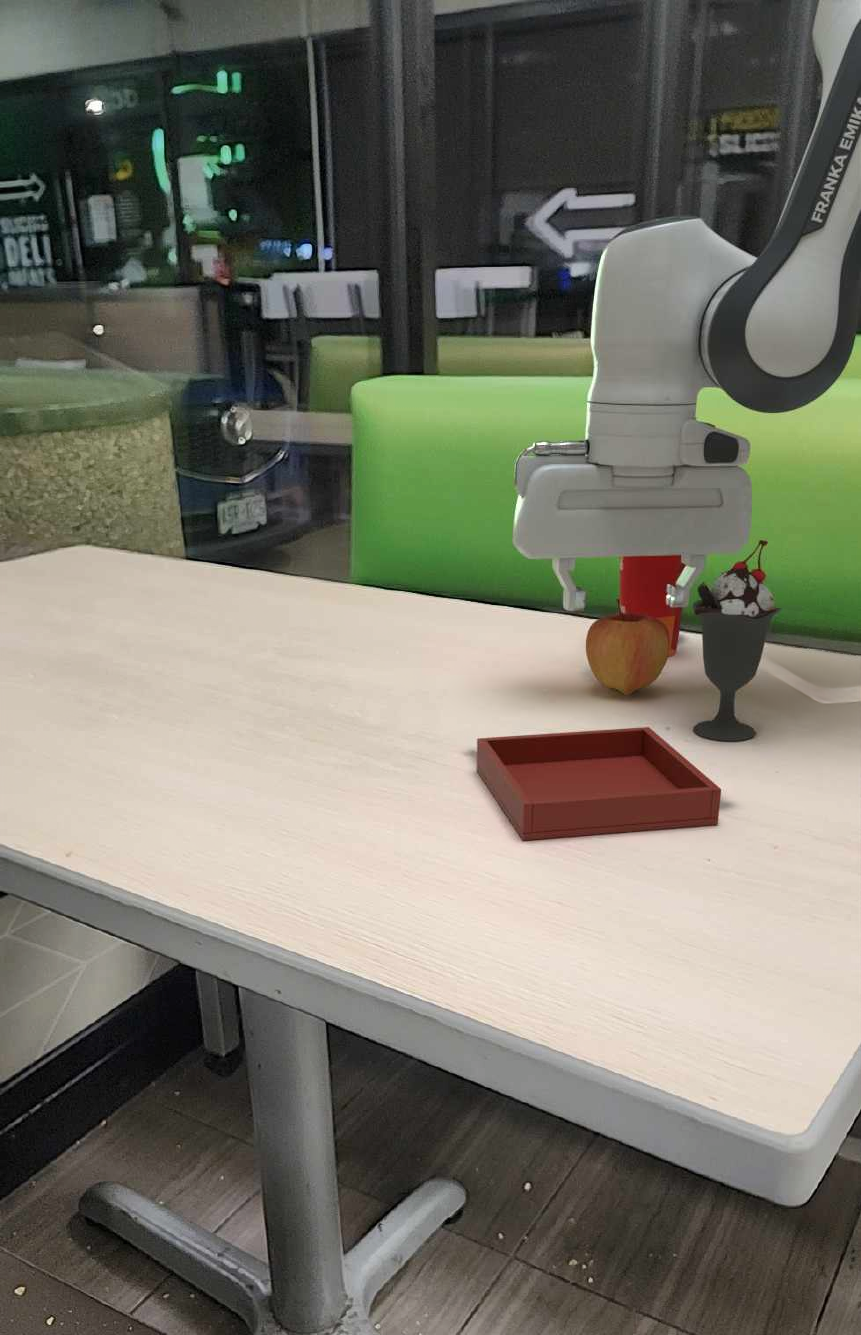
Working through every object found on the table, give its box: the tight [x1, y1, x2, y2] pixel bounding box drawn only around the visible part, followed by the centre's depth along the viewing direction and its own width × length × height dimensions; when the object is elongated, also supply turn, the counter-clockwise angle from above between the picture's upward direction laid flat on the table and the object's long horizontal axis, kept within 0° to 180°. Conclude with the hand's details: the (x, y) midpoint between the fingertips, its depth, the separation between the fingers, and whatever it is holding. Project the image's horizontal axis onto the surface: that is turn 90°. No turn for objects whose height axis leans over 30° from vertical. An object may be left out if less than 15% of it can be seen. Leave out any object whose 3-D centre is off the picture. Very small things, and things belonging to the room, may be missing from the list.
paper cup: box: [619, 555, 686, 658], centre depth 115 cm, size 8×8×14 cm
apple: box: [585, 598, 670, 696], centre depth 103 cm, size 7×7×8 cm
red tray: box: [476, 726, 722, 841], centre depth 80 cm, size 13×13×2 cm
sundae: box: [692, 539, 782, 742], centre depth 91 cm, size 7×7×15 cm
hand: (625, 607), depth 101 cm, fingers open, 8 cm apart
